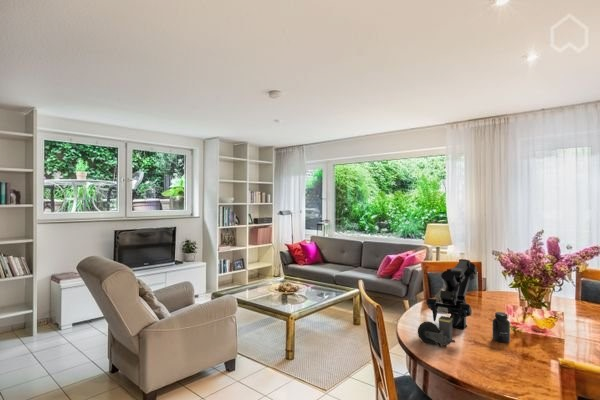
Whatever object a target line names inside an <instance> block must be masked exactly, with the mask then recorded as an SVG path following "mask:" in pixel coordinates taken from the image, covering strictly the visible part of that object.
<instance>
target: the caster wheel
mask: <svg viewBox="0 0 600 400" xmlns="http://www.w3.org/2000/svg"><path fill="white" fill-rule="evenodd" d="M417 335H418V337H419V339H420V340H421V341H422V342H423V343H425V344H429V345H431V344H435V343H438V344H439V345H440V348H441V347H442V348H444V346H448V344H450V343H449V342H451V343H453V344H454V343H456V340H455V339H452V340H450V339H448V338H447V336H445V334H444V330H439V326H437V324H436V323H434V322H432V321H429V320H428V321H423V322H422V323H420V324H419V326H418V328H417Z"/></svg>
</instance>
